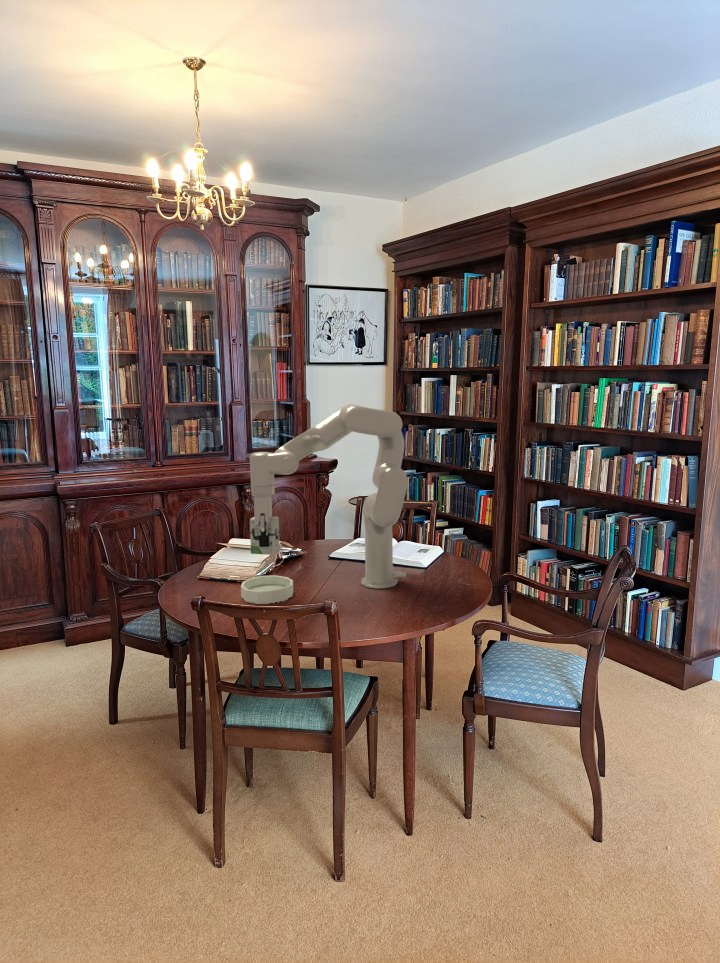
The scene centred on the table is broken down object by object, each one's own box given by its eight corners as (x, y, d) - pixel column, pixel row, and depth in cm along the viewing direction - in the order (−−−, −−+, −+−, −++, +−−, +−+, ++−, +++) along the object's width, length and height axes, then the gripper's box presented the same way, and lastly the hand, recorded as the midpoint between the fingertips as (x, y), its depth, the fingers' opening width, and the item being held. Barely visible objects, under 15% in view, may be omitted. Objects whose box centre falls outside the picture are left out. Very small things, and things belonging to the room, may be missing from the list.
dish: (294, 585, 223) (293, 574, 223) (291, 602, 207) (291, 590, 206) (245, 587, 222) (244, 576, 222) (238, 604, 206) (238, 592, 205)
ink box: (250, 554, 211) (248, 518, 209) (256, 550, 216) (254, 515, 214) (274, 555, 209) (273, 519, 207) (280, 551, 213) (279, 516, 211)
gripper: (254, 485, 217) (256, 537, 220) (248, 495, 200) (250, 551, 203) (276, 485, 217) (278, 537, 220) (272, 494, 200) (274, 550, 203)
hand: (265, 543), depth 212 cm, fingers closed on ink box, 6 cm apart
